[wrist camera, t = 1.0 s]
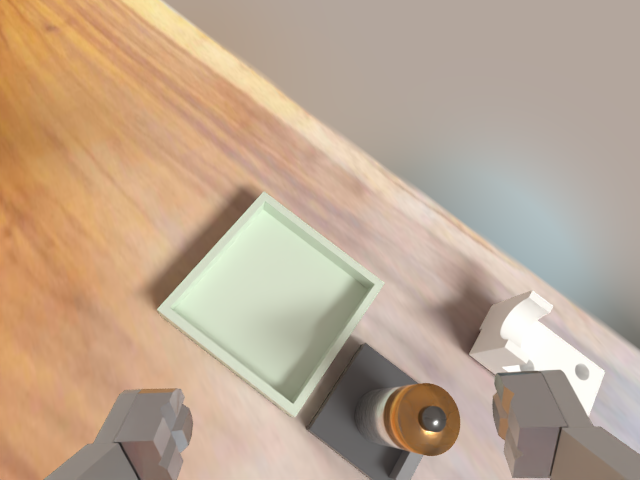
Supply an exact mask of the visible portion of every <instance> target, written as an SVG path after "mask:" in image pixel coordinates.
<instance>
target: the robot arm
mask: <svg viewBox="0 0 640 480" xmlns="http://www.w3.org/2000/svg"><path fill="white" fill-rule="evenodd" d="M494 384H495V387H496V390H497V393H496V394H495V395H494V396H493V404H492V406H493V417H494V421H495V426H496V429H497V432H498V435H499V436H500V437H501V438H502V439H504V440H505V446H504V454H505V457H506V460H507V463H508V466H509V469H510V472H511V475H512V478H550V480H640V454H638V453H637V452H636V451H634V450H633V449H631V448H630V447H629V446H627V445H626V444H624V443H623V442H622V441H620V440H619V439H617V438H616V437H615V436H613V435H612V434H610V433H609V432H608V431H606V430H605V429H603V428H602V427H594V426H593V424H592V422H591V420H590V419H589V417H588V415H587V413H586V411H585V409H584V408H583V406H582V404H581V402H580V400H579V398H578V397H577V395H576V393H575V391H574V389H573V387H572V386H571V384H570V382H569V380H568V378H567V376H566V375H565V373H564V372H563V371H562V370H542V371H520V372H503V373H497V374H496V376H495V382H494ZM184 398H185V397H184V395H183V393H182V391H181V389H177V388H176V389H138V390H124V391H123V392H122V393H120V394H119V396H118V398H117V400H116V402H115V403H114V405H113V407H112V409H111V411H110V413H109V415H108V416H107V418H106V420H105V422H104V424H103V426H102V428H101V429H100V431H99V433H98V435H97V437H96V439H95V441H94V442H93V444H87V445H86V446H84V447H83V448H82V449H81V450H79V451H78V452H77V453H76V454H74V455H73V456H72V457H71V458H70V459H68V460H67V461H66V462H65V463H63V464H62V465H61V466H60V467H58V468H57V469H56V470H55V471H53V472H52V473H51V474H50V475H49V476H47V477H46V478H45V479H44V480H177V478H178V475H179V472H180V469H181V466H182V463H183V459H182V456H181V454H180V453H181V452H182V451H183V450H184V449H185V448H186V447H187V446H188V445H189V442H190V439H191V436H192V427H193V421H192V415H191V412H190V409H189V408H188V407H186V406H185V405H183V404H182V403H183V401H184Z"/></svg>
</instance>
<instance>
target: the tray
mask: <svg viewBox="0 0 640 480" xmlns="http://www.w3.org/2000/svg"><path fill="white" fill-rule="evenodd" d="M384 284H385V283H384V282H383V281H381V280H380V279H379V278H377V277H376V276H375V275H373V274H372V273H371V272H370V271H368V270H367V269H366V268H364V267H363V266H362V265H360V264H359V263H358V262H356V261H355V260H354V259H352V258H351V257H350V256H348V255H347V254H346V253H345V252H343V251H342V250H341V249H339V248H338V247H337V246H335V245H334V244H333V243H331V242H330V241H329V240H327V239H326V238H325V237H323V236H322V235H321V234H319V233H318V232H317V231H316V230H314V229H313V228H312V227H310V226H309V225H308V224H306V223H305V222H304V221H302V220H301V219H300V218H298V217H297V216H296V215H294V214H293V213H292V212H291V211H289V210H288V209H287V208H285V207H284V206H283V205H281V204H280V203H279V202H277V201H276V200H275V199H273V198H272V197H271V196H269V195H268V194H267V193H266V192H263V193H262V194H261V195H260V196H259V197H258V198H257V199H256V200H255V202H254V203H253V204H252V205H251V206H250V207H249V208H248V209H247V210H246V211H245V213H244V214H243V215H242V216H241V217H240V218H239V219H238V220H237V221H236V223H235V224H234V225H233V226H232V227H231V228H230V229H229V230H228V231H227V232H226V234H225V235H224V236H223V237H222V238H221V239H220V240H219V241H218V242H217V244H216V245H215V246H214V247H213V248H212V249H211V250H210V251H209V252H208V253H207V255H206V256H205V257H204V258H203V259H202V260H201V261H200V262H199V263H198V264H197V266H196V267H195V268H194V269H193V270H192V271H191V272H190V273H189V274H188V276H187V277H186V278H185V279H184V280H183V281H182V282H181V283H180V284H179V285H178V287H177V288H176V289H175V290H174V291H173V292H172V293H171V294H170V295H169V296H168V298H167V299H166V300H165V301H164V302H163V303H162V304H161V305H160V306H159V308H158V309H157V311H158V313H159V314H160V316H161V317H163V318H164V319H165V320H166V321H168V322H169V323H170V324H172V325H173V326H174V327H175V328H177V329H178V330H179V331H181V332H182V333H183V334H184V335H186V336H187V337H188V338H190V339H191V340H192V341H193V342H195V343H196V344H197V345H199V346H200V347H201V348H202V349H204V350H205V351H206V352H208V353H209V354H210V355H211V356H213V357H214V358H215V359H217V360H218V361H219V362H220V363H222V364H223V365H224V366H226V367H227V368H228V369H229V370H231V371H232V372H233V373H235V374H236V375H237V376H238V377H240V378H241V379H242V380H244V381H245V382H246V383H247V384H249V385H250V386H251V387H253V388H254V389H255V390H256V391H258V392H259V393H260V394H262V395H263V396H264V397H265V398H267V399H268V400H269V401H271V402H272V403H273V404H274V405H276V406H277V407H278V408H280V409H281V410H282V411H283V412H285V413H286V414H287V415H289V416H290V417H296V415H297V414H298V412H299V411H300V409H301V408H302V406H303V405H304V403H305V402H306V400H307V399H308V397H309V396H310V394H311V393H312V391H313V390H314V388H315V387H316V385H317V384H318V382H319V381H320V379H321V378H322V376H323V375H324V373H325V372H326V370H327V369H328V367H329V366H330V364H331V363H332V361H333V360H334V358H335V357H336V355H337V354H338V352H339V351H340V349H341V348H342V346H343V345H344V343H345V342H346V340H347V339H348V337H349V336H350V334H351V333H352V331H353V330H354V328H355V327H356V325H357V324H358V322H359V321H360V319H361V318H362V316H363V315H364V313H365V312H366V310H367V309H368V307H369V306H370V304H371V303H372V302H373V300H374V299H375V297H376V296H377V294H378V293H379V291H380V290H381V288H382V287H383V285H384Z"/></svg>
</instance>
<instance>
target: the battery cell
mask: <svg viewBox="0 0 640 480" xmlns="http://www.w3.org/2000/svg"><path fill="white" fill-rule="evenodd" d="M355 421H356V425H357V428H358V430H359V432H360V433H361V435H362V436H363V437H364V438H365V439H367V440H368V441H370V442H372V443H375V444H379V445H384V446H388V447H393V448H398V449H402V450H405V451H408V452H413V453H417V454H422V455H427V456H436V455H440V454H442V453H444V452H446V451H447V450H449V449H450V448H451V447H452V446H453V444H454V443H455V441H456V439H457V437H458V434H459V430H460V415H459V411H458V408H457V405H456V403H455V401H454V400H453V398H452V397H451V396H450V395H449V393H448V392H446V391H445V390H444V389H443V388H441V387H439V386H437V385H434V384H430V383H423V384H414V385H406V386H402V387H393V388H384V389H375V390H371V391H369V392H367V393H366V394H364V395H363V396H362V397H361V399H360V400H359V402H358V404H357V406H356V410H355Z"/></svg>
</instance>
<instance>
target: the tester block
mask: <svg viewBox="0 0 640 480" xmlns="http://www.w3.org/2000/svg"><path fill="white" fill-rule="evenodd" d="M414 384H418V383H417V382H416V381H414V380H413V379H412V378H410V377H409V376H408V375H406V374H405V373H404V372H402V371H401V370H400V369H399V368H397V367H396V366H395V365H393V364H392V363H391V362H389V361H388V360H387V359H386V358H384V357H383V356H382V355H380V354H379V353H378V352H376V351H375V350H374V349H372V348H371V347H370V346H369V345H367V344H366V343H365V344H362V345H361V346H360V348H359V349H358V351H357V352H356V354H355V355H354V357H353V358H352V360H351V361H350V363H349V364H348V366H347V368H346V369H345V371H344V372H343V374H342V375H341V377H340V378H339V380H338V381H337V383H336V385H335V386H334V388H333V389H332V391H331V392H330V394H329V395H328V397H327V398H326V400H325V401H324V403H323V405H322V406H321V408H320V409H319V411H318V412H317V414H316V415H315V417H314V418H313V420H312V421H311V423H310V425H309V426H308V428H307V430H308V431H309V432H310V433H312V434H313V435H314V436H316V437H317V438H318V439H319V440H321V441H322V442H323V443H324V444H326V445H327V446H328V447H330V448H331V449H332V450H333V451H335V452H336V453H337V454H339V455H340V456H341V457H342V458H344V459H345V460H346V461H348V462H349V463H350V464H351V465H353V466H354V467H355V468H357V469H358V470H359V471H360V472H362V473H363V474H364V475H366V476H367V477H368V478H369V479H371V480H411V478H412V476H413V474H414V472H415V470H416V468H417V466H418V464H419V463H420V461H421V459H422V457H423V455H422V454H417V453H413V452H408V451H405V450H402V449H398V448H393V447H388V446H384V445H379V444H375V443H372V442H370V441H368V440H367V439H365V438H364V437H363V436H362V435H361V433H360V432H359V430H358V428H357V425H356V421H355V410H356V406H357V404H358V402H359V400H360V399H361V397H362V396H363V395H364V394H366V393H367V392H369V391H371V390H375V389H384V388H393V387H402V386H406V385H414Z"/></svg>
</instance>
